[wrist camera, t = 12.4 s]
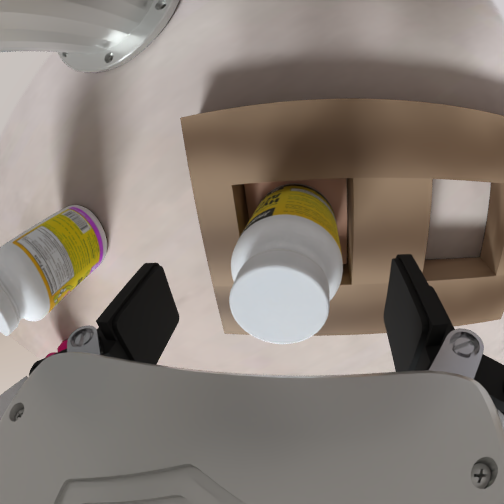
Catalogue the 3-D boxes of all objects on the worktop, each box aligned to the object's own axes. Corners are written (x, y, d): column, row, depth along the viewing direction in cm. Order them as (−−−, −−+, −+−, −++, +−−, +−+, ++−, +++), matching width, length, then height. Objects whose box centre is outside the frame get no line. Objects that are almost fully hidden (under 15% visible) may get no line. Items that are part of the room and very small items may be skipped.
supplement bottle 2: (278, 166, 18) (247, 218, 9) (349, 207, 18) (378, 290, 10) (243, 232, 21) (195, 321, 12) (309, 267, 21) (302, 371, 12)
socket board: (198, 116, 18) (180, 117, 15) (513, 120, 12) (536, 124, 10) (233, 310, 25) (224, 333, 22) (487, 299, 19) (500, 319, 17)
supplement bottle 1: (74, 264, 27) (-5, 337, 15) (55, 207, 24) (-41, 268, 12) (119, 264, 25) (30, 355, 14) (99, 198, 22) (-16, 270, 11)
